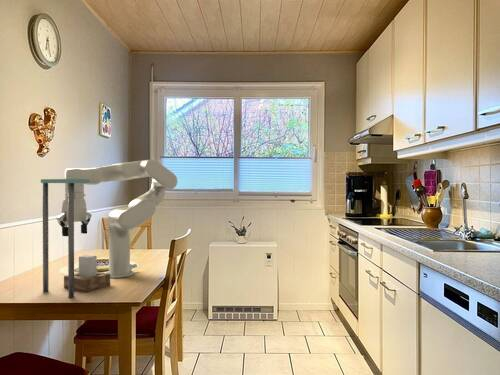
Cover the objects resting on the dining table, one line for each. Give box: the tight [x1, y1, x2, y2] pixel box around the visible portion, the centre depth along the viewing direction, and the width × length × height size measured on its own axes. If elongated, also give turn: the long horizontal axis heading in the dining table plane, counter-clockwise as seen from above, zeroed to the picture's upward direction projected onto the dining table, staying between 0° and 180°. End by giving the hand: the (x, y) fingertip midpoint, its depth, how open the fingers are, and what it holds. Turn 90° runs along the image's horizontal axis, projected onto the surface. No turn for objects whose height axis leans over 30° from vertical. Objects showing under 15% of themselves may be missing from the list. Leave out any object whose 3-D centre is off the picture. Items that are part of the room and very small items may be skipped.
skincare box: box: [78, 254, 98, 278], centre depth 160 cm, size 6×4×12 cm
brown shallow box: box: [63, 271, 111, 293], centre depth 159 cm, size 12×14×5 cm
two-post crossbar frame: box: [40, 178, 89, 299], centre depth 151 cm, size 8×19×46 cm, turn 61°
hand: (74, 234), depth 166 cm, fingers open, 9 cm apart
